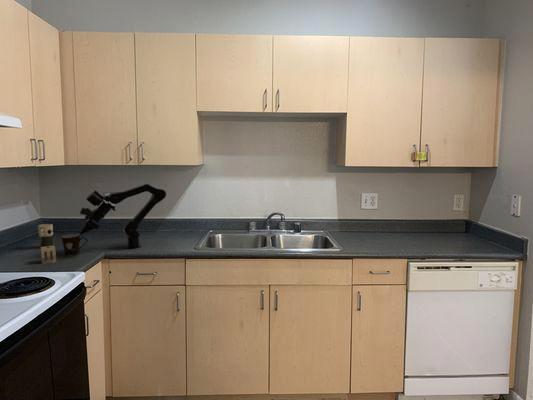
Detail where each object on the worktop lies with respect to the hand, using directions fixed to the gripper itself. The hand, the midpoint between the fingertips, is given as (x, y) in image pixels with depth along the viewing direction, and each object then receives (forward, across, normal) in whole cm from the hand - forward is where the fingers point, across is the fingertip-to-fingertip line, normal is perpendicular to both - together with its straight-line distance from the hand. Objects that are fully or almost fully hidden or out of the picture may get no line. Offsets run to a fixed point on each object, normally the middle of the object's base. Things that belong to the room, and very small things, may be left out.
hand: (80, 233), depth 202 cm
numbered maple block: (+18, +8, -3) cm, 20 cm away
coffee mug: (+10, 0, +5) cm, 11 cm away
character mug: (+19, -26, -4) cm, 33 cm away
